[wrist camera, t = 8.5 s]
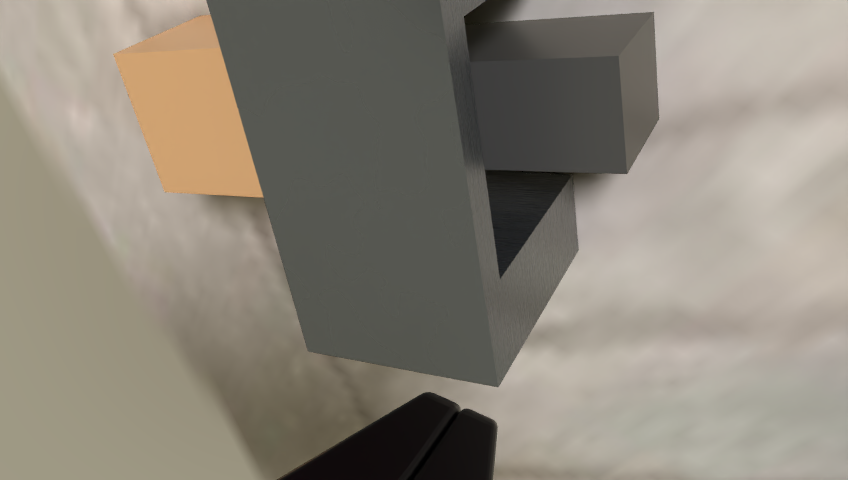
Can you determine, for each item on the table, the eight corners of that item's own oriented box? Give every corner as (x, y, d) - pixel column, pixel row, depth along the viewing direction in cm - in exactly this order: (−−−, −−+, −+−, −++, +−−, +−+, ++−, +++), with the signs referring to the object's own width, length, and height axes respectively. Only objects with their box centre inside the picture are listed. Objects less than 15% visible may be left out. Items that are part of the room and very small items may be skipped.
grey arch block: (578, 250, 22) (498, 387, 17) (415, 234, 24) (308, 351, 19) (545, -160, 17) (422, -114, 12) (344, -131, 19) (182, -83, 15)
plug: (660, 147, 19) (623, 217, 16) (240, 141, 25) (164, 191, 23) (652, -24, 17) (608, 24, 15) (200, 15, 23) (113, 54, 21)
